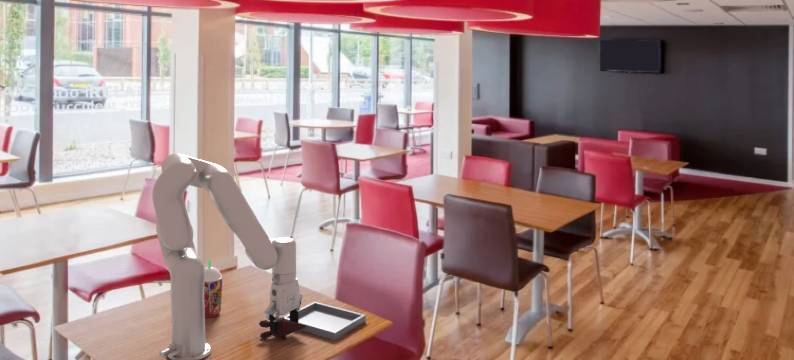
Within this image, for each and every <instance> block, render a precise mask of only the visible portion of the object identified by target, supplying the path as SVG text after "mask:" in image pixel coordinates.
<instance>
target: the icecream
mask: <svg viewBox="0 0 794 360" xmlns="http://www.w3.org/2000/svg"><path fill="white" fill-rule="evenodd" d="M282 317H283V318H282ZM282 317H279V318H278V320H277V321H279V333H277V334H276V333H273V332H270V330H266V331H263V332H261V333H260V334H259V337H260V339H268V338H270V337H272V336H273V337H274V338H277V339H287V336H288V335H290V334H293V333H295V332H298V331H301V330H300V329H302V328H305V327H306V325H304V324H300V323H297V322H293V321H289V320H285V318H284V316H282ZM258 325H259V327H261V328H266V329H267V328H270V320H268V319H263V320H260V321H259V323H258Z"/></svg>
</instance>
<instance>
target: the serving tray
mask: <svg viewBox="0 0 794 360" xmlns="http://www.w3.org/2000/svg"><path fill="white" fill-rule="evenodd" d="M283 317H284V318H285V320H289V321H290V313H287V314H285V316H284V315H283V316H282V317H281V318H283ZM366 318H367V317H366V314H363V313H360V312H357V311H356V312H355V311H353V310H349V309H344V308H341V307H336V306H333V305H329V304H326V303H322V302H318V301H313V302H311V303H309V304H307V305H305V306H303V307H301V308H300V310H299V311H298V323H300V324H304V325H306V327H305V328H302V329H300V330H299V331H303V332H305V333H309V334H313V335H314V336H315V335H316V336H319V337H322V338H325V339H328V340H329V339H330V340H333V341H336V340H338V339H340V338H341V337H343V336H344V335H346V334H348V333H350V332H351V331H353V330H355V329H356V328H358V327H359V326H361V325H363V324H365V323H366V320H367V319H366Z"/></svg>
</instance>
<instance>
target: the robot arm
mask: <svg viewBox="0 0 794 360" xmlns="http://www.w3.org/2000/svg"><path fill="white" fill-rule="evenodd" d="M160 166H161V173H160V174H159V176H158V177H157V179H156V181H155V183H154V184H153V188H152V194H151V195H152V204H153V209H154V212H155V217H156V221H157V223H156V226H155V227H156V228H155V230H156V235H157V238H158V241H159V245H160V248H161V253H162V255H163V259H164V262H165V263H164V264H165V266H166V268H167V270H168V272H169V275H170V314H171V337H172V339H171V340H172V341H170V342H169V346H168V347H167V348H165V349H162V350H160V351H159V357H160V358H161V359H162V358H165V357H168V358H169V359H170V360H202V359H205V358H206V357H208V356H209V355H210V354H211V352H212V347H211V345H210V344H209V343H207V341H206V317H205V306H204V282H205V268H206V267H205V264H204V261H203V260H202V259H201V257H200V255H199V254H198V253H197V250H196V247H195V244H194V243H195V242H194V229H193V226H192V224H191V221H190V218H189V213H188V210H187V206H186V201H185V193H186V190H187V189H188V188H189V186H191V187H195V188H200V189H203V190H206V192H207V194H208V195H209V197H210V199H211V200H212V203H213V204H214V206H215V207H216V208H217V211H218V212H219V213H220V215H221V217H222V218H223V221H224V222H225V223H226V225H227V227H228V228H229V229H230V230H231V231H232V232H233V234H235V235H236V238H238V239H239V241H240V242H241V244H242V246H243V247H244V248H245V249H244V251H245V255H246V257H247V258H248V259H249V260H250V261H251V262H252V263H253V265H254V266H255V267H256V268H258V269H259V270H263V271H267V270H271V281H272V282H271V286H270V291H269V305H268V306H267V308H266V309H265V310H264V314H265V317H266V318H267V321H269V322H270V327H269V331H270V332H273V333H276V334H277V333H279V321H277V320H278V318H280V316H284V315H287V314H290V321H293V322H297V323H298V311H299V310H300V309H301V308H300V306H301V305H302V300H303V296H304V295H303V294H301V293H300V284H299V280H298V278H297V242H296V240H295V239H294V238H292V237H289V236H286V237H284V236H281V237H278V238H277V237H276V238H270V237H269V236H268V234H267V232H266V231H265V229H264V228H263V226H262V225H261V223H260V221H259V219H258V218H257V216H256V214H255V212H254V211H253V209H252V207H251V206H250V204H249V203H248V201H247V199H246V198H245V195H244V194H243V192H242V190H241V189H240V187H239V185H238V184H237V182H236V180H235V178H234V176H233V175H232V174H231V172H230V171H229V170H228V169H226V168H225V167H224V166H221V165H220V164H217V163H213V162H210V161H206V160H202V159H198V158H195V157H192V156H189V155H185V154H183V153H171V154H169V155H167V156H166V157H164V159H163V160H162V162H161V165H160ZM274 315H275V316H274Z"/></svg>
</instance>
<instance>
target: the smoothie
mask: <svg viewBox="0 0 794 360" xmlns="http://www.w3.org/2000/svg"><path fill="white" fill-rule="evenodd" d="M211 262H212V261H211V259H210V258H208V266H206V267H204V268H205V282H204V306H205V318H215V317H218V316H219V315H220V312H221V311H222V295H223V294H222V292H223V290H222V289H223V274H221V271H220V270H219V269H218V268H217V267H215V266H212V265H211Z"/></svg>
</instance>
